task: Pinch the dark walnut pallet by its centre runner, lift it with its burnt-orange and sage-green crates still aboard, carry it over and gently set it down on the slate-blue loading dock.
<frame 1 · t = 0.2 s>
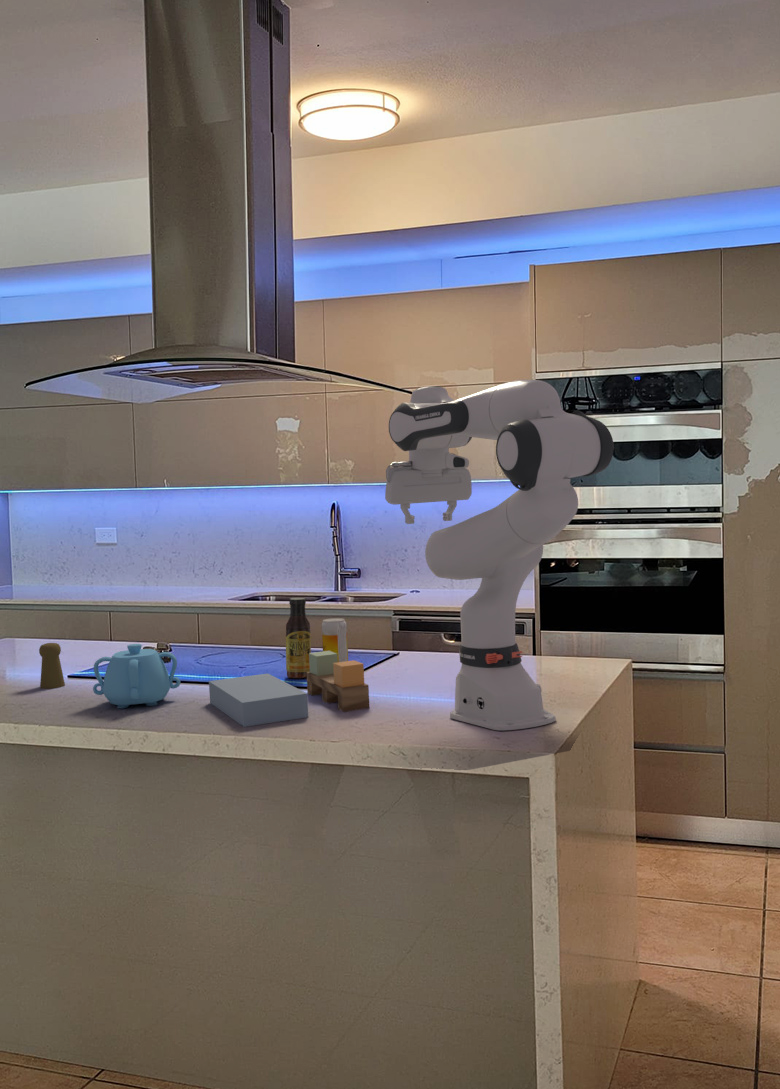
hand: (428, 522, 227), 39 cm above the countertop, tool pointing down, fingers open, 8 cm apart
orange crate: (349, 683, 220), point 5 cm above the countertop, touching walnut pallet
walnut pallet: (337, 700, 227), on the countertop, touching orange crate, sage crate
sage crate: (323, 672, 233), point 5 cm above the countertop, touching walnut pallet
beer can: (336, 681, 248), on the countertop
cork: (52, 687, 258), on the countertop
sauce bottle: (299, 677, 255), on the countertop
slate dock: (257, 709, 221), on the countertop
decorative pot: (138, 703, 234), on the countertop
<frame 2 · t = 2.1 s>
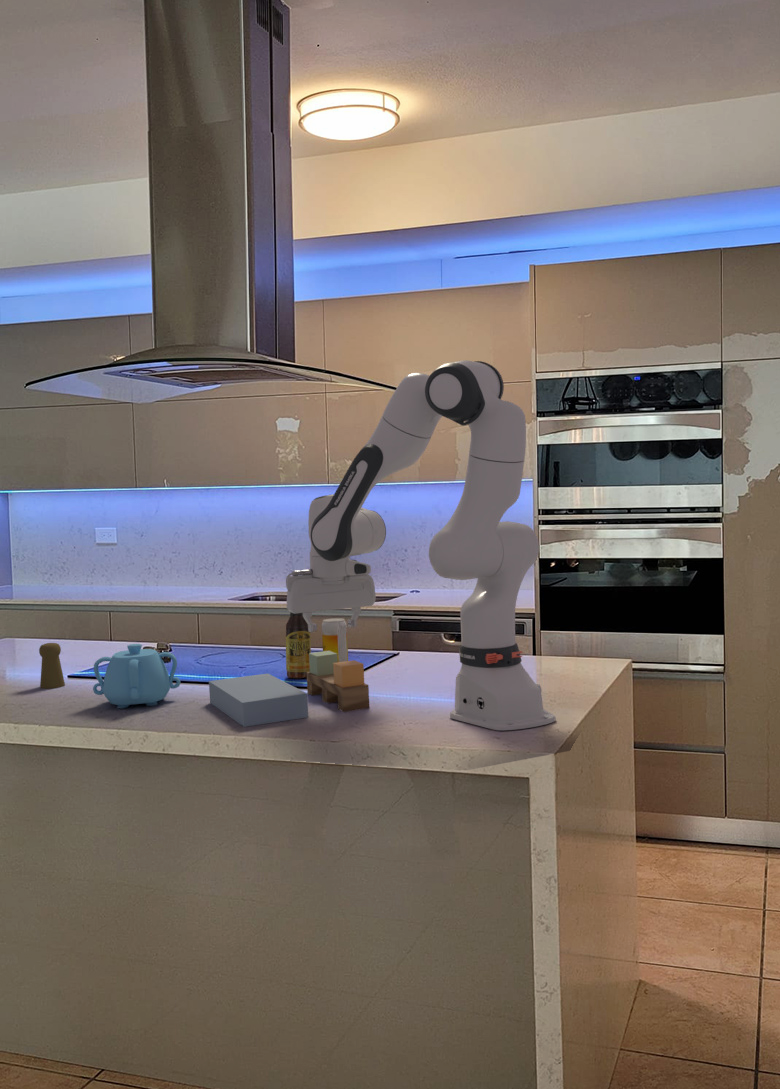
hand: (332, 629, 226), 16 cm above the countertop, tool pointing down, fingers open, 8 cm apart
nothing on the countertop moved.
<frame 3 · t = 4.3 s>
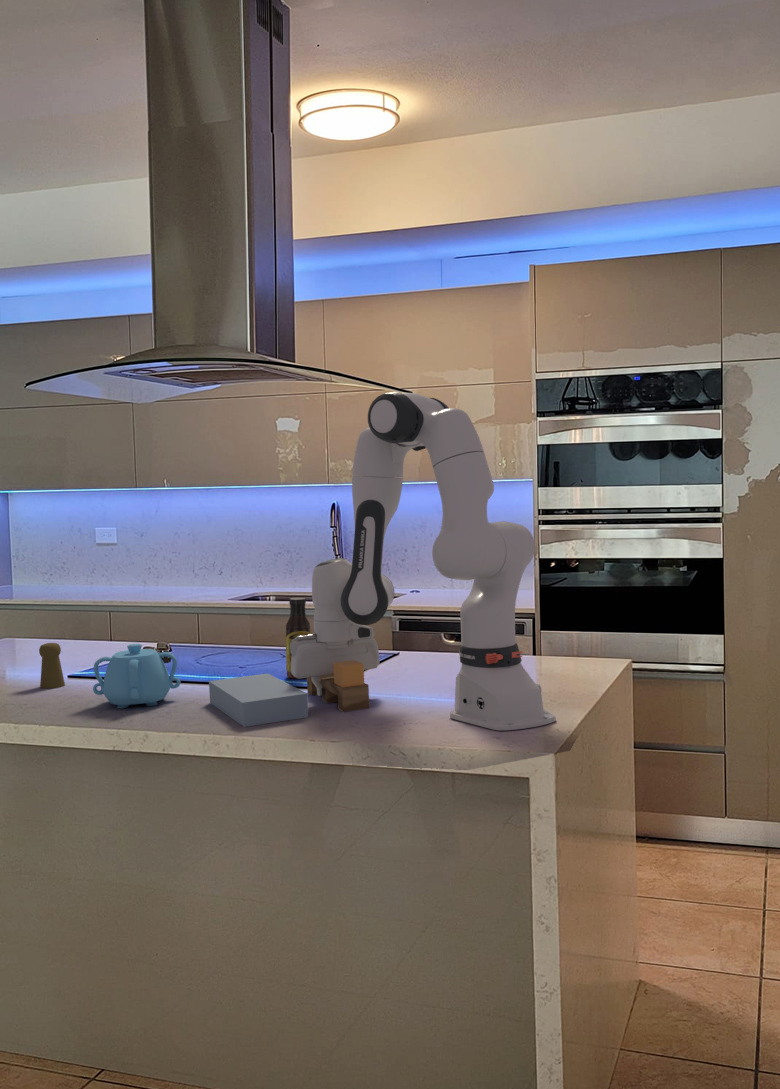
hand: (337, 693, 227), 2 cm above the countertop, tool pointing down, fingers closed on walnut pallet, 6 cm apart
walnut pallet: (337, 700, 227), on the countertop, touching gripper, orange crate, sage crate
everything else where it was.
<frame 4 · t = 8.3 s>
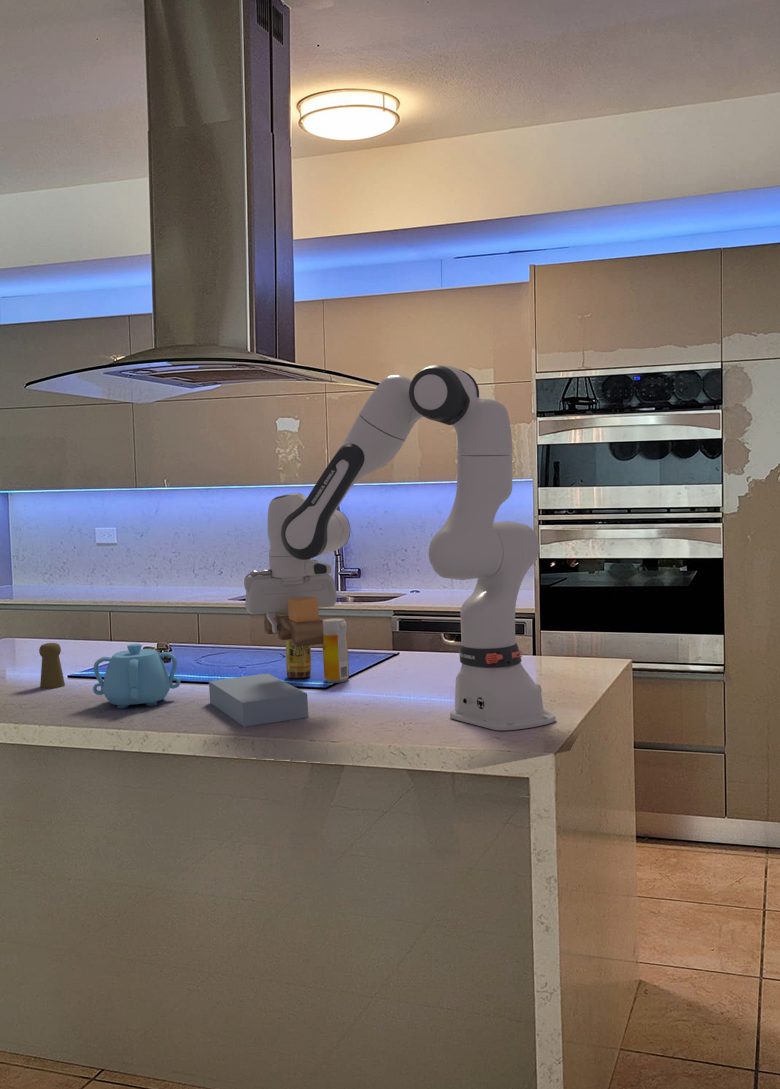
hand: (292, 630, 223), 17 cm above the countertop, tool pointing down, fingers closed on walnut pallet, 6 cm apart
orange crate: (303, 619, 216), point 20 cm above the countertop, touching walnut pallet
walnut pallet: (293, 637, 223), point 15 cm above the countertop, touching gripper, orange crate, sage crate
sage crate: (281, 611, 230), point 20 cm above the countertop, touching walnut pallet
everything else where it was.
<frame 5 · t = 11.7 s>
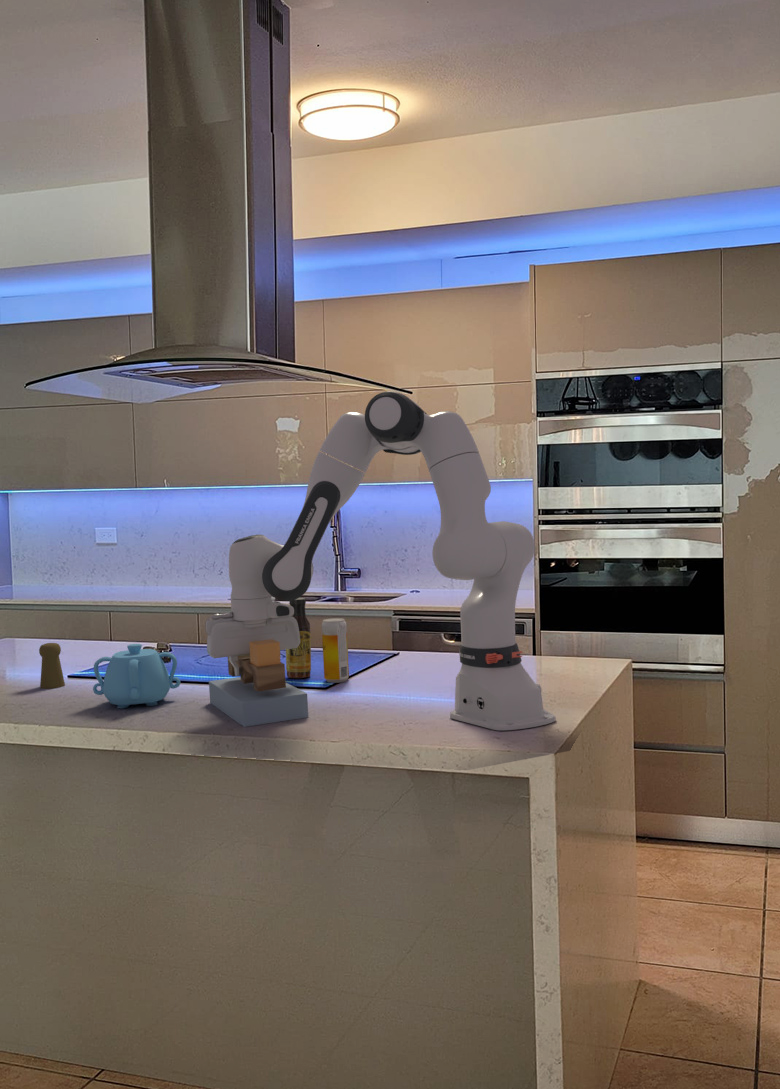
hand: (255, 673, 221), 8 cm above the countertop, tool pointing down, fingers closed on walnut pallet, 6 cm apart
orange crate: (265, 663, 214), point 11 cm above the countertop, touching walnut pallet
walnut pallet: (256, 680, 221), point 6 cm above the countertop, touching gripper, orange crate, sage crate
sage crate: (244, 653, 227), point 11 cm above the countertop, touching walnut pallet
everything else where it was.
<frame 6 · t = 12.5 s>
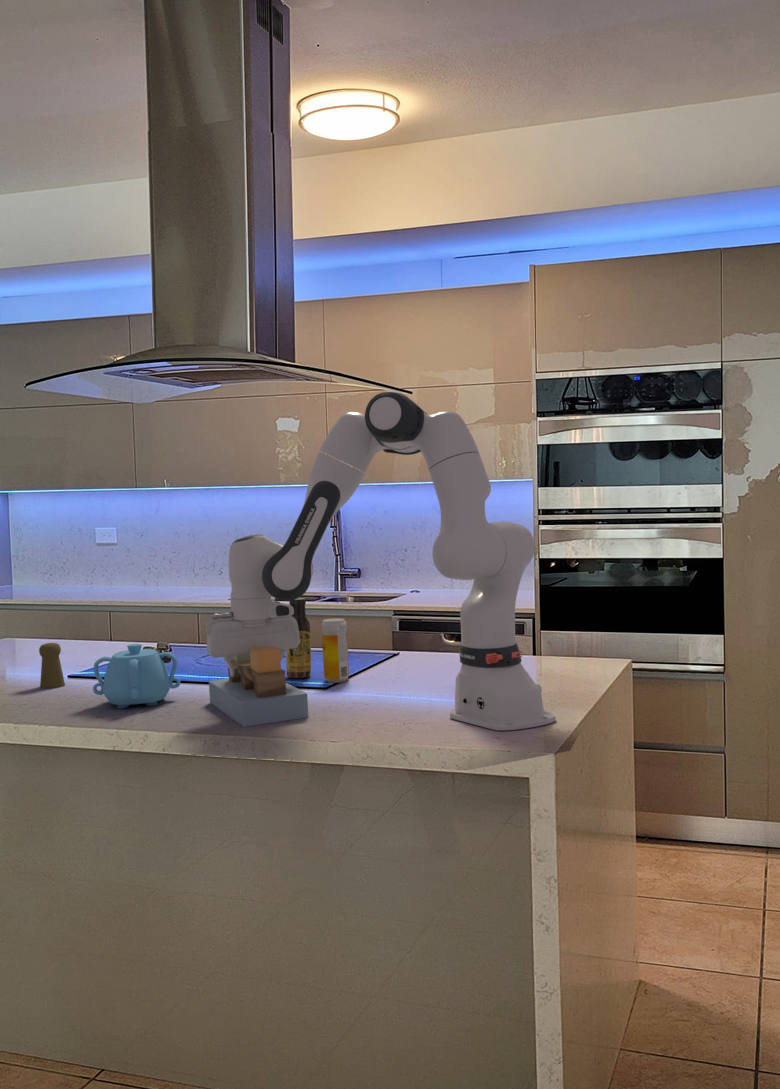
hand: (255, 673, 221), 8 cm above the countertop, tool pointing down, fingers open, 8 cm apart
orange crate: (265, 669, 214), point 10 cm above the countertop, touching walnut pallet
walnut pallet: (256, 687, 221), point 5 cm above the countertop, touching orange crate, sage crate, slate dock
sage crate: (244, 659, 227), point 10 cm above the countertop, touching walnut pallet
everything else where it was.
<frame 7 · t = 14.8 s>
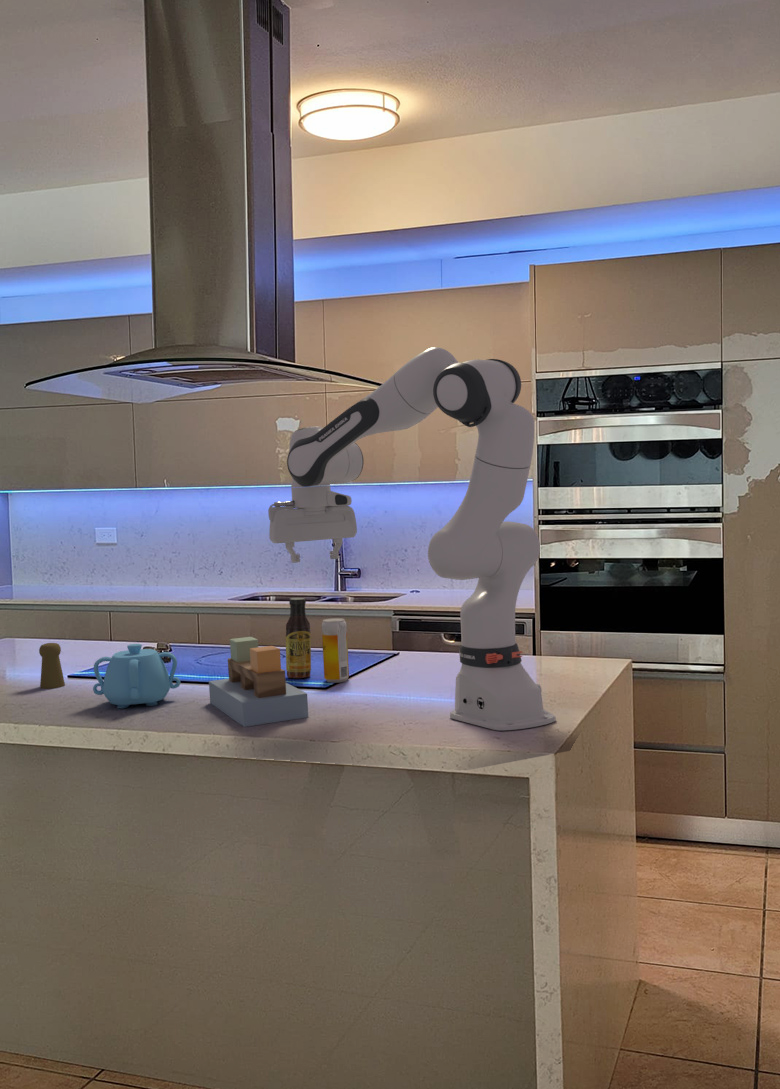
hand: (315, 560, 230), 31 cm above the countertop, tool pointing down, fingers open, 8 cm apart
nothing on the countertop moved.
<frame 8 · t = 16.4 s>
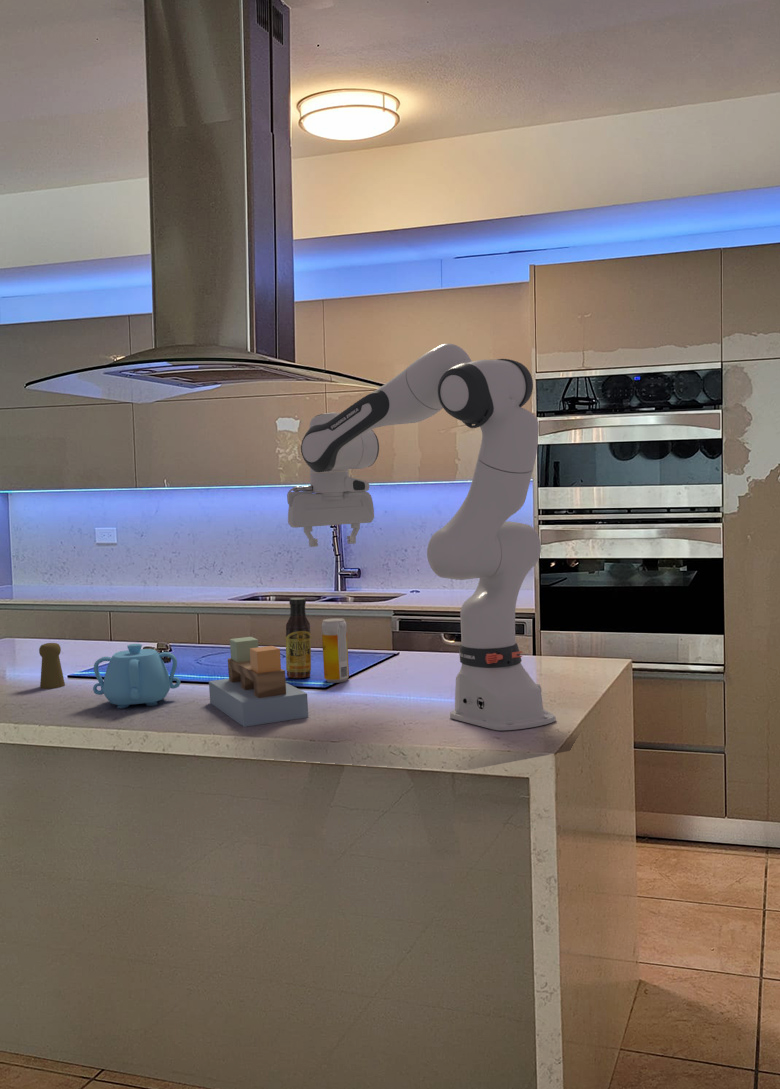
hand: (332, 545, 233), 34 cm above the countertop, tool pointing down, fingers open, 8 cm apart
nothing on the countertop moved.
at the end: walnut pallet inside the target area (0.1 cm from its centre), point 5.0 cm above the countertop; orange crate point 10.0 cm above the countertop; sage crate point 10.0 cm above the countertop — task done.
